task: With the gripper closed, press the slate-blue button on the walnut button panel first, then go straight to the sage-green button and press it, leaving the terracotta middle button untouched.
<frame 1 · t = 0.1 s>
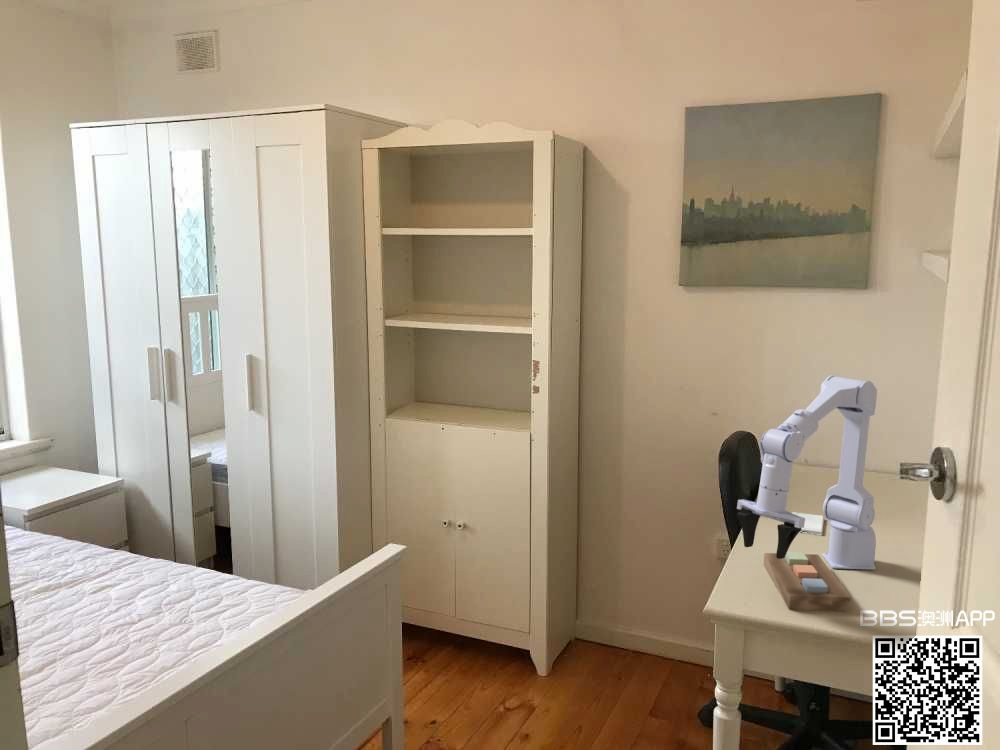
hand: (764, 552, 168), 10 cm above the table, tool pointing down, fingers open, 7 cm apart
slate button: (814, 588, 168), point 3 cm above the table, slide at 0.0 cm
sage button: (796, 560, 181), point 3 cm above the table, slide at 0.0 cm
hard drive: (806, 527, 211), on the table
terracotta button: (804, 573, 174), point 3 cm above the table, slide at 0.0 cm
button panel: (804, 586, 175), on the table
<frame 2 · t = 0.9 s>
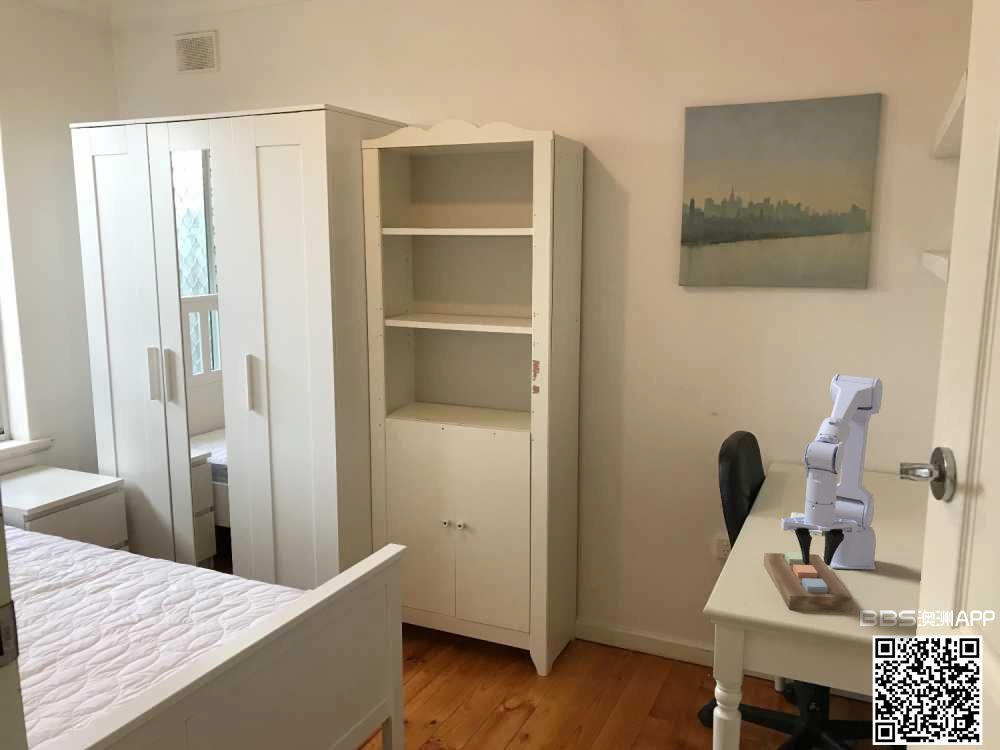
hand: (816, 563, 167), 8 cm above the table, tool pointing down, fingers open, 4 cm apart
nothing on the table moved.
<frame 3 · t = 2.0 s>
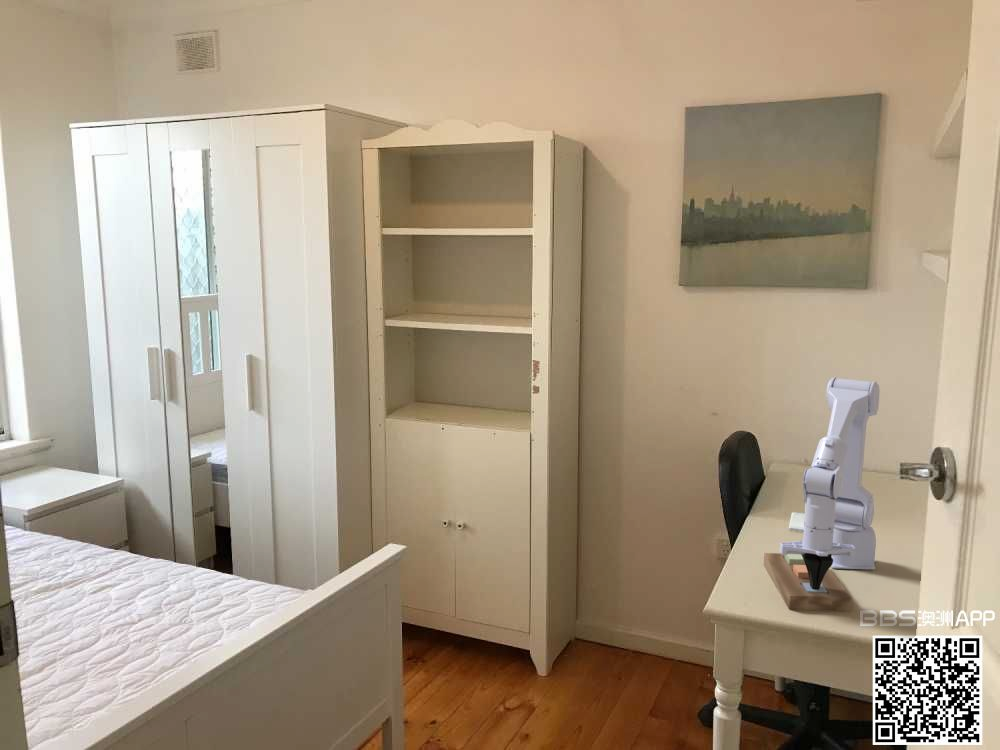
hand: (814, 587, 168), 3 cm above the table, tool pointing down, fingers closed, pressing on slate button
slate button: (814, 592, 168), point 2 cm above the table, slide at 1.0 cm, touching gripper
everything else where it was.
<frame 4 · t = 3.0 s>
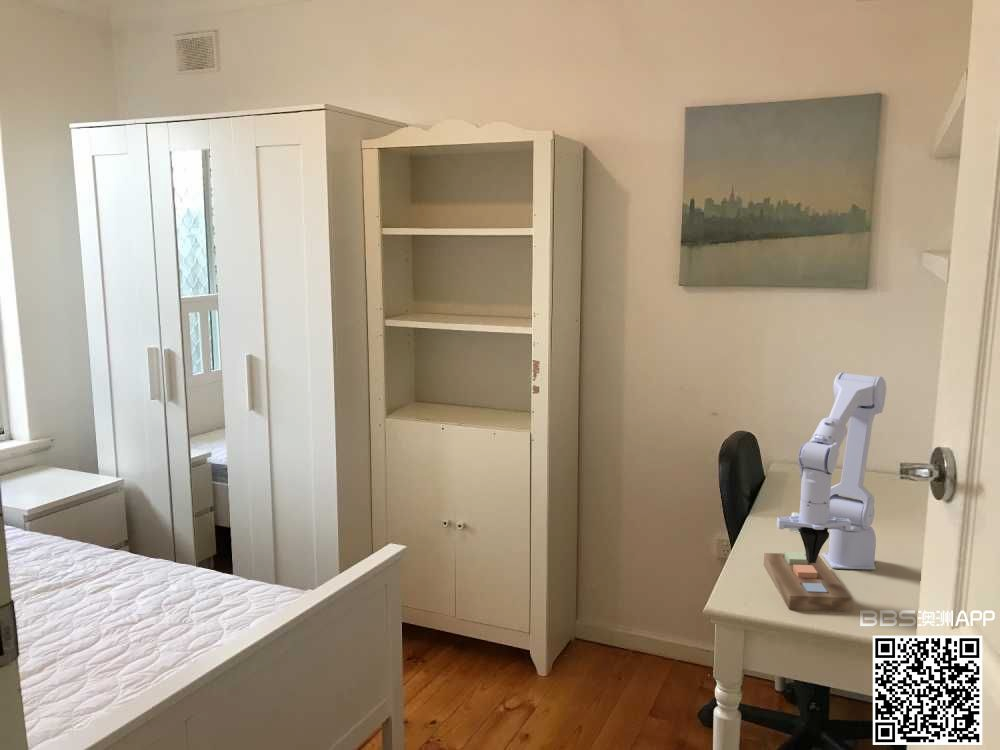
hand: (811, 561, 171), 7 cm above the table, tool pointing down, fingers closed
slate button: (814, 592, 168), point 2 cm above the table, slide at 1.0 cm
everything else where it was.
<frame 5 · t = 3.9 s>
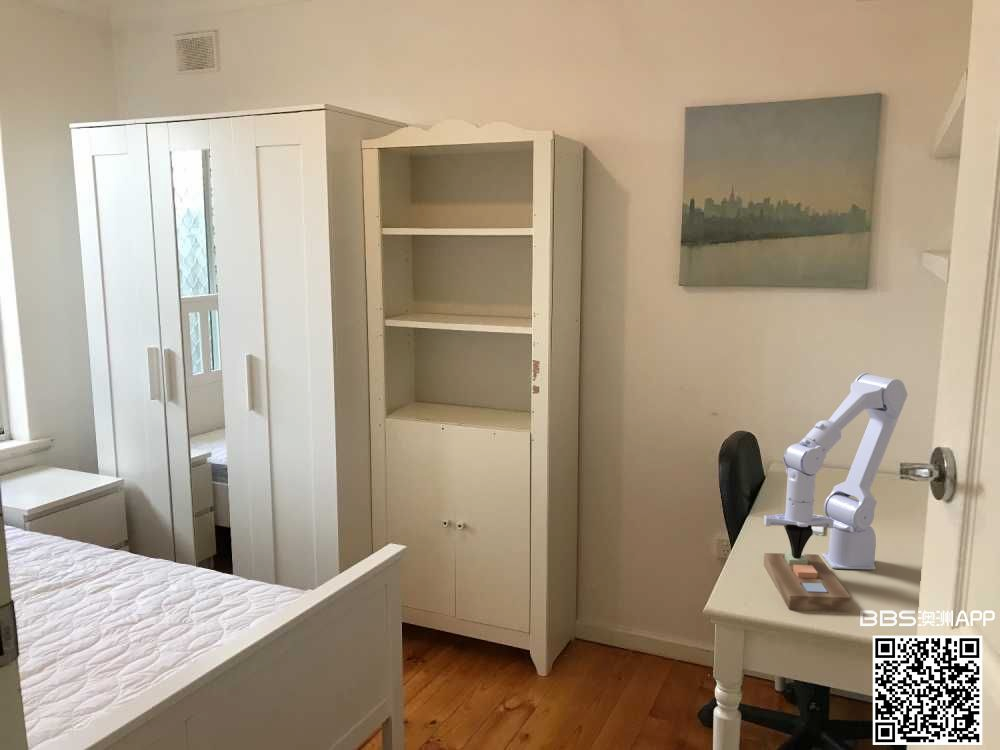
hand: (796, 556, 181), 4 cm above the table, tool pointing down, fingers closed, pressing on sage button
sage button: (795, 561, 181), point 3 cm above the table, slide at 0.2 cm, touching gripper
everything else where it was.
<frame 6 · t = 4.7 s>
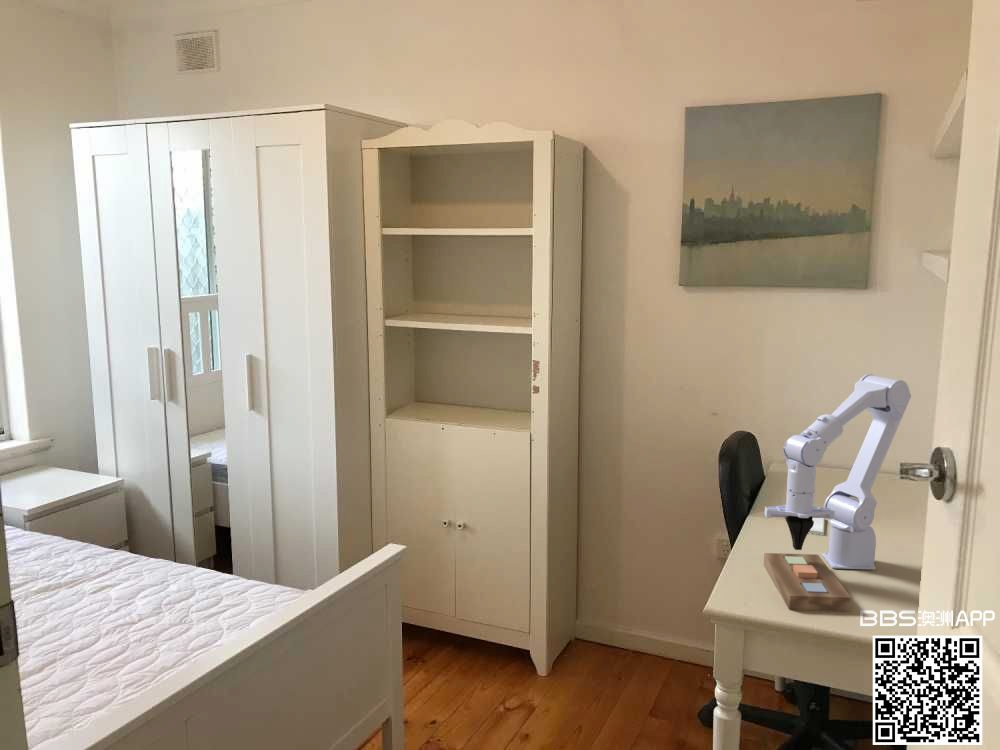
hand: (797, 548, 181), 6 cm above the table, tool pointing down, fingers closed
sage button: (795, 565, 181), point 2 cm above the table, slide at 1.0 cm
everything else where it was.
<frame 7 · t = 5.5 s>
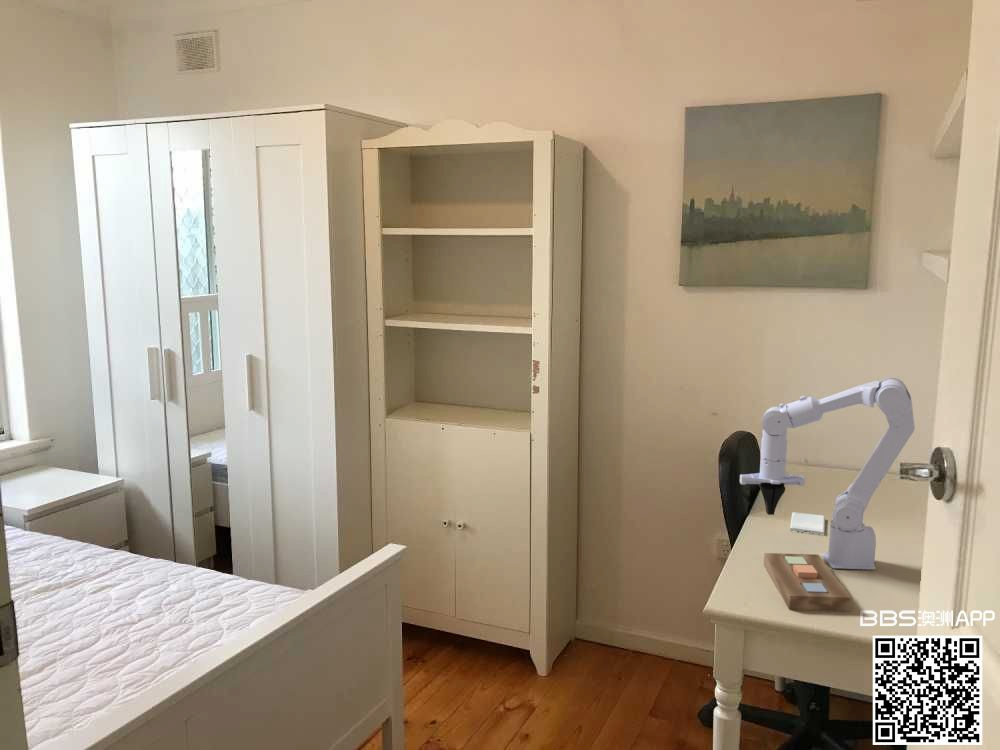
hand: (769, 513, 193), 9 cm above the table, tool pointing down, fingers closed
nothing on the table moved.
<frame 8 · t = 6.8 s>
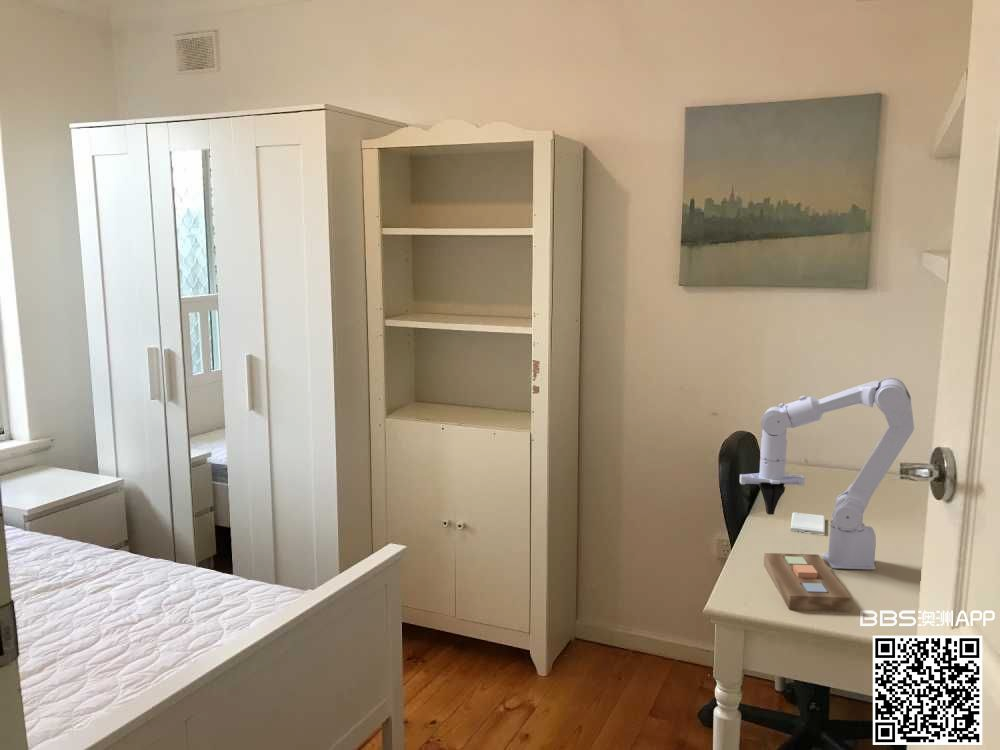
hand: (769, 513, 193), 9 cm above the table, tool pointing down, fingers closed
nothing on the table moved.
at the end: slate button slide at 1.0 cm; sage button slide at 1.0 cm; terracotta button slide at 0.0 cm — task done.
